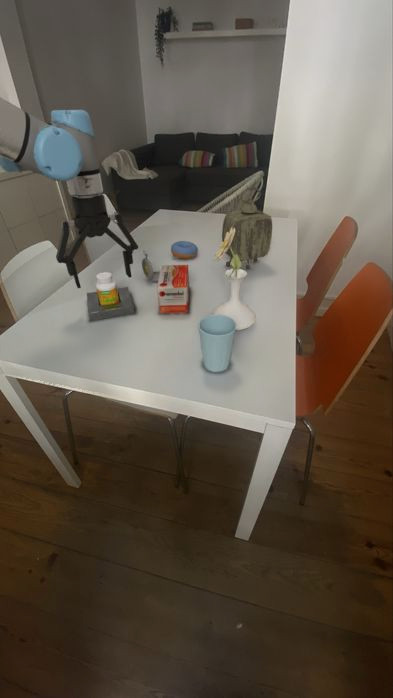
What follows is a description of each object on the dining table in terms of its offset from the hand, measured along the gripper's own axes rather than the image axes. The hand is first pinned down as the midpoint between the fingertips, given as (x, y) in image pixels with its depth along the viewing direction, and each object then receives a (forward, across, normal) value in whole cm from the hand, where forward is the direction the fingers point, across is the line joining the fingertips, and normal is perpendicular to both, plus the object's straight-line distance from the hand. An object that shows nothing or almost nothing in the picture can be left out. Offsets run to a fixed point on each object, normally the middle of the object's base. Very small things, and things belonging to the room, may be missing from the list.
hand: (104, 280), depth 85 cm
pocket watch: (+8, +18, +11) cm, 22 cm away
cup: (+8, +14, -36) cm, 39 cm away
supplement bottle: (+8, 0, 0) cm, 8 cm away
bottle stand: (+8, 0, 0) cm, 8 cm away
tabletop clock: (+8, +49, +4) cm, 50 cm away
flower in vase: (+8, +26, -24) cm, 36 cm away
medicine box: (+8, +18, -6) cm, 20 cm away
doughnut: (+8, +35, +24) cm, 43 cm away
